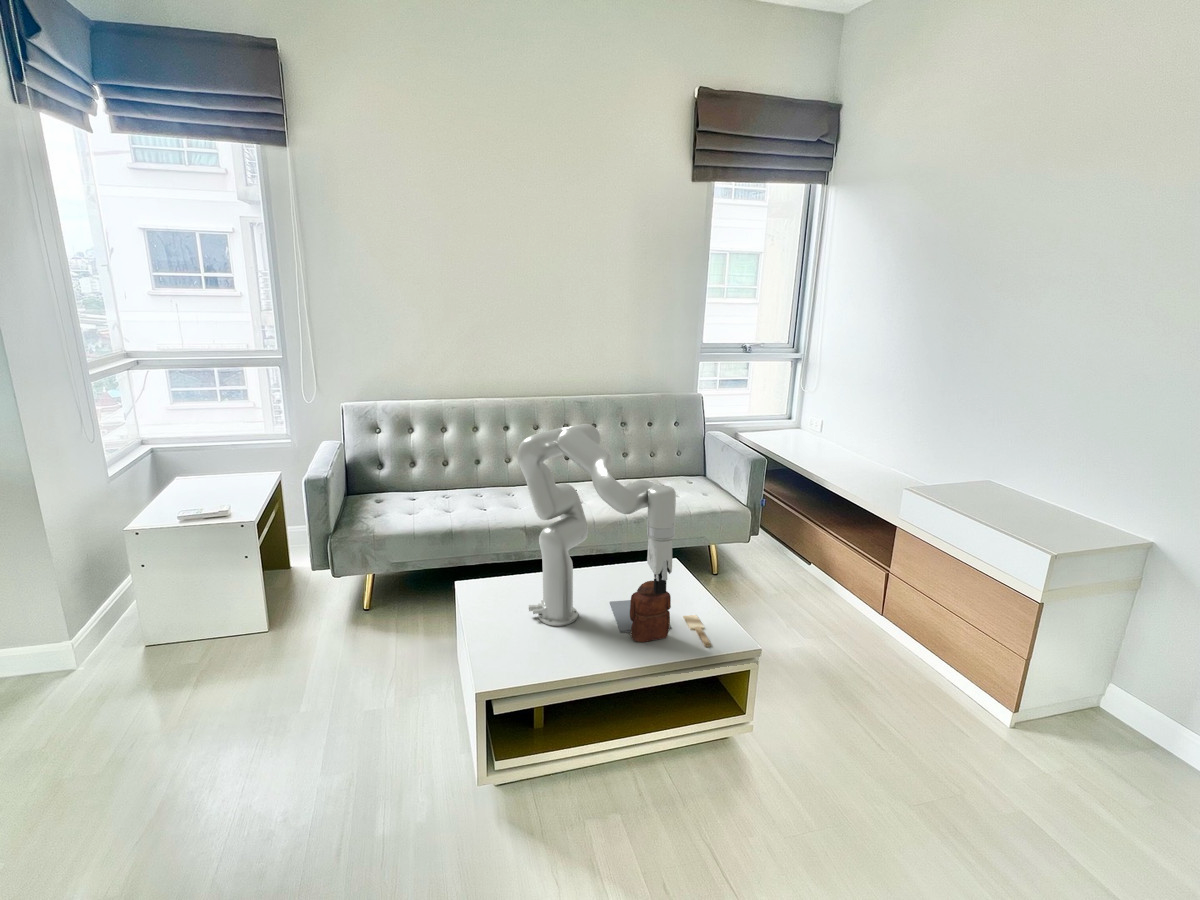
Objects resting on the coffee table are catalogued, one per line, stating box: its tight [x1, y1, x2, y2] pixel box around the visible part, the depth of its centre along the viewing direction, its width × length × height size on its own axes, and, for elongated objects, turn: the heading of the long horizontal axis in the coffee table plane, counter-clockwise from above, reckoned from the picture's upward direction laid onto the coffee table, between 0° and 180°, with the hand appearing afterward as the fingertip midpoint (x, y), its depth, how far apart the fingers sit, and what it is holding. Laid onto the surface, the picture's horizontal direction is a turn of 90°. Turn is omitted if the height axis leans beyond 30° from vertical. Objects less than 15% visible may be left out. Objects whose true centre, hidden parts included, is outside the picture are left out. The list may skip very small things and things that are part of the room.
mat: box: [609, 599, 672, 633], centre depth 200 cm, size 16×19×1 cm
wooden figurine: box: [630, 580, 672, 643], centre depth 185 cm, size 12×6×18 cm, turn 110°
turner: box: [682, 614, 712, 648], centre depth 191 cm, size 18×4×1 cm, turn 9°
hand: (659, 592), depth 174 cm, fingers closed
